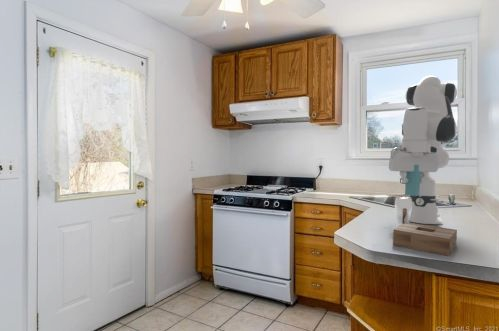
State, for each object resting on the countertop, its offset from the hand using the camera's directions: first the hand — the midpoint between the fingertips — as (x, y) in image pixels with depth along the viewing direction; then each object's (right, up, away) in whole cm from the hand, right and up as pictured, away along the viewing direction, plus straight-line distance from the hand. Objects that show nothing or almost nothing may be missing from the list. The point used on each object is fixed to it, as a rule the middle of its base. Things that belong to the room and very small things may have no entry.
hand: (412, 183), depth 120 cm
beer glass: (+6, -23, +20) cm, 32 cm away
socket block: (+3, -24, -3) cm, 24 cm away
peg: (0, -5, 0) cm, 5 cm away
